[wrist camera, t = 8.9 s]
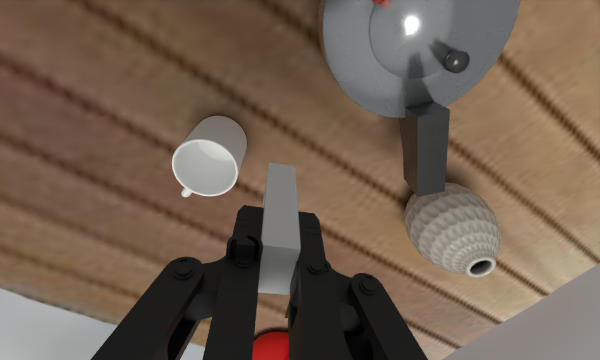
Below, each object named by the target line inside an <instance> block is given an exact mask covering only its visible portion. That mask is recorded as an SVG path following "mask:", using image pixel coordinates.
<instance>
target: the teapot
mask: <svg viewBox="0 0 600 360" xmlns="http://www.w3.org/2000/svg"><path fill="white" fill-rule="evenodd" d="M252 360H289V338H288V332H281V331H276V332H269V333H266V334H263V335H261V336H259V337H258V338H257V339H256V340H255V341H254V343H253V354H252Z"/></svg>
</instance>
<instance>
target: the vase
mask: <svg viewBox="0 0 600 360" xmlns="http://www.w3.org/2000/svg"><path fill="white" fill-rule="evenodd" d="M404 222H405V228H406V231H407V234H408V236H409V239H410V241H411V242H412V244H413V246H414V247H415V248H416V249H417V251H418V252H419V253H420V254H421V255H422V256H423V257H424V258H426V259H427V260H428V261H429V262H431V263H432V264H434V265H436V266H438V267H440V268H442V269H444V270H447V271H450V272H455V273H461V274H467V275H468V276H470V277H482V276H485V275H487V274H489V273H490V272H492V271H493V270H494V268H495V266H496V260H495V258H496V256H497V254H498V251H499V248H500V241H501V235H500V229H499V224H498V221H497V219H496V216H495V214H494V212H493V211H492V209H491V208H490V207H489V205H488V204H487V203H486V202H485V201H484V200H483V199H482V198H481V197H480V196H479V195H477V194H476V193H475V192H473V191H472V190H470V189H468V188H466V187H464V186H461V185H458V184H454V183H448V182H445V192H441V193H436V194H431V195H425V196H420V197H417V196H416V194H415V193H413V195H412V196H411V197H410V199H409V200H408V203H407V206H406V209H405V215H404Z"/></svg>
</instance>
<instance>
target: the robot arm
mask: <svg viewBox="0 0 600 360" xmlns="http://www.w3.org/2000/svg"><path fill="white" fill-rule="evenodd" d="M289 290H290V301H289V304H288V308H287V311H286V316H285V318H288V338H289V360H428V359H427V357H426V356H425V354H424V352H423V351H422V349H421V347H420V346H419V344H418V343H417V341H416V339H415V338H414V336H413V334H412V333H411V331H410V329H409V328H408V326H407V325H406V323H405V321H404V320H403V318H402V316H401V315H400V313H399V311H398V310H397V308H396V307H395V305H394V303H393V302H392V300H391V298H390V297H389V295H388V293H387V292H386V290H385V289H384V287H383V285H382V284H381V283H380V282H379V280H378V279H376V278H375V277H373V276H372V275H369V274H366V273H359V274H356V275H354V276H353V278H350V277H347V276H345V275H342V274H340V273H338V272H336V271H335V270H333V269H332V268H331V265H330V263H329V262H328V261H327V260H326V258H325V252H324V246H323V240H322V236H321V230H320V222H319V220H318V218H317V217H316V215H315V214H314V213H306V212H298V203H297V189H296V175H295V166H290V165H283V164H277V163H270V162H269V167H268V173H267V180H266V186H265V192H264V199H263V207H254V206H246V205H244V206H243V207H242V208H241V209H240V210H239V211H238V214H237V218H236V222H235V227H234V231H233V235H232V237H231V238H229V240H228V242H227V250H226V256H224V257H223V258H222V259H220V260H218V261H215V262H211V263H205V264H202V263H201V262H200V261H199V260H197V259H195V258H193V257H181V258H177V259H175V260H173V261H171V262H170V263H169V264H168V265H167V266H166V267H165V268H164V269H163V271H162V272H161V273H160V274H159V276H158V277H157V278H156V279H155V280H154V282H153V283H152V284H151V285H150V287H149V288H148V289H147V290H146V292H145V293H144V294H143V295H142V297H141V298H140V299H139V300H138V302H137V303H136V304H135V305H134V307H133V308H132V309H131V310H130V311H129V313H128V314H127V315H126V316H125V318H124V319H123V320H122V321H121V323H120V324H119V325H118V326H117V328H116V329H115V330H114V331H113V333H112V334H111V335H110V336H109V338H108V339H107V340H106V341H105V342H104V344H103V345H102V346H101V347H100V349H99V350H98V351H97V352H96V354H95V355H94V356H93V357H92V359H91V360H180V358H181V356H182V355H183V353H184V350H185V349H186V347H187V345H188V343H189V342H190V340H191V338H192V336H193V334H194V332H195V330H196V329H197V327H198V325H199V323H200V321H201V319H205V318H209V317H212V321H211V325H210V329H209V334H208V338H207V342H206V347H205V351H204V356H203V360H252V354H253V343H254V331H255V320H256V309H257V297H258V292H261V293H273V294H285V295H288V294H289Z"/></svg>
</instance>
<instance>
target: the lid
mask: <svg viewBox="0 0 600 360" xmlns="http://www.w3.org/2000/svg"><path fill="white" fill-rule="evenodd" d="M519 5H520V0H325V2H324V9H323V16H322V37H323V46H324V51H325V56H326V59H327V62H328V65H329V68H330V70H331V72H332V74H333V76H334V78H335V80H336V81H337V83H338V84H339V85H340V87H341V88H342V90H343V91H344V92H345V93H346V94H347V95H348V96H349V97H350V98H351V99H352V100H353V101H354V102H355V103H357V104H358V105H359V106H361V107H363V108H364V109H366V110H368V111H370V112H373V113H375V114H378V115H382V116H386V117H393V118H402V128H403V166H404V179H405V180H406V182H407V183H408V185H409V186H410V187H411V189H412V190H413V192H414V193H415V194H416V196H417V197H420V196H425V195H431V194H436V193H441V192H445V179H446V163H447V147H448V131H449V116H450V110H449V109H447V108H445V106H447V105H449V104H451V103H453V102H454V101H456V100H457V99H459V98H460V97H462V96H463V95H464V94H466V93H467V92H468V91H469V90H470V89H472V88H473V87H474V86H475V85H476V84H477V83H478V82H479V81H480V80H481V79H482V78H483V77H484V75H485V74H486V73H487V72H488V71H489V69H490V68H491V67H492V66H493V64H494V63H495V61H496V60H497V58H498V57H499V55H500V54H501V52H502V50H503V48H504V46H505V45H506V43H507V41H508V38H509V36H510V34H511V32H512V29H513V26H514V23H515V20H516V17H517V14H518V10H519Z"/></svg>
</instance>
